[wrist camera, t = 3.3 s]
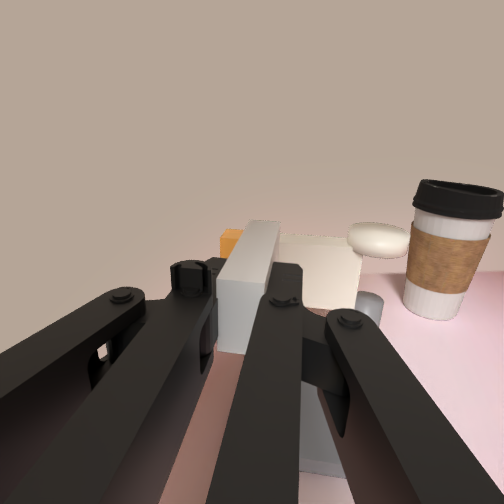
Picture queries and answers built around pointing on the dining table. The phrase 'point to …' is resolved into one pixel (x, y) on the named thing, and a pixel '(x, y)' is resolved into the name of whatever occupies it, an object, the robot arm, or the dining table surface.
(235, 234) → the orange tipped swivel lever
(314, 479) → the dining table surface
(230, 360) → the dining table surface
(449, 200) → the coffee cup
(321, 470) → the tuner board
